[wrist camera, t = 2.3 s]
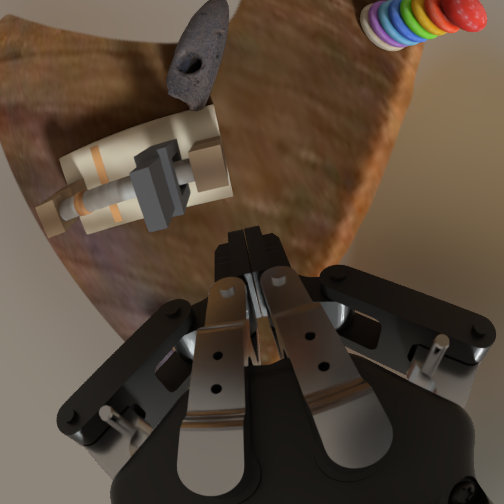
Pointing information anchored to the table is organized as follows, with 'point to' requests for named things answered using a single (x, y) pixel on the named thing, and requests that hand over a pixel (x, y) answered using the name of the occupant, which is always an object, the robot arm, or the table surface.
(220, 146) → the pipe stand
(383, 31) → the stacking toy
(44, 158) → the table surface
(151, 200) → the collar
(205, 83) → the perforated stone tool
